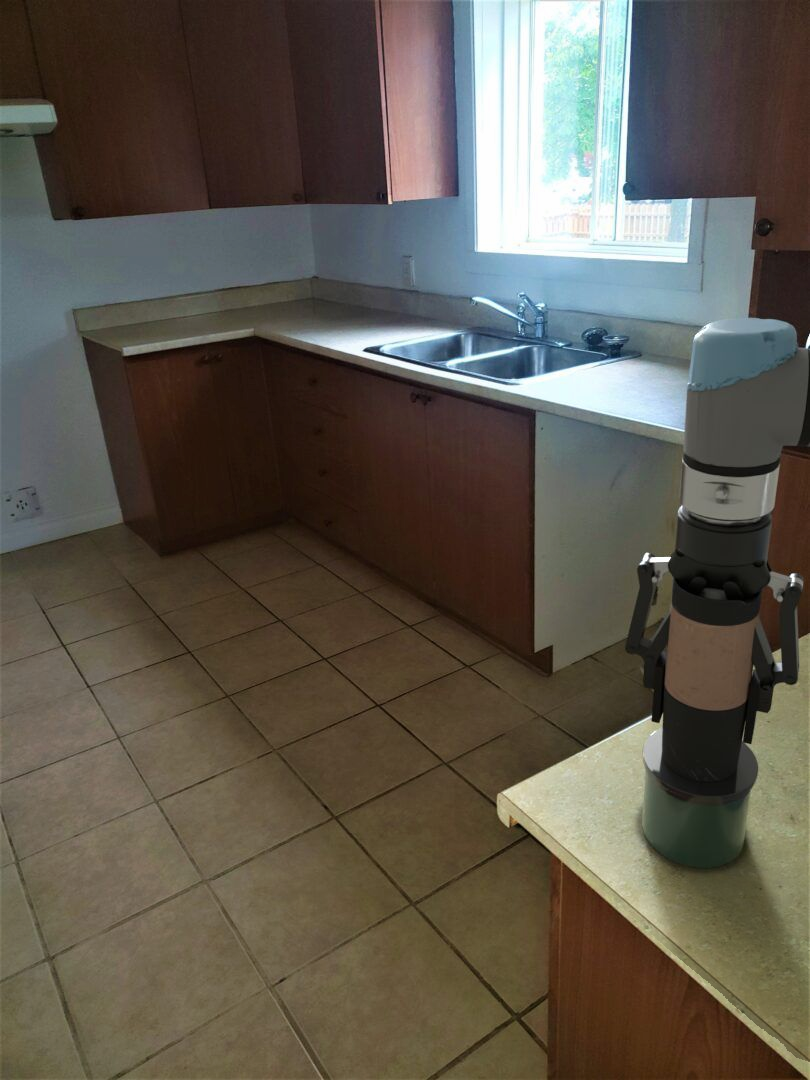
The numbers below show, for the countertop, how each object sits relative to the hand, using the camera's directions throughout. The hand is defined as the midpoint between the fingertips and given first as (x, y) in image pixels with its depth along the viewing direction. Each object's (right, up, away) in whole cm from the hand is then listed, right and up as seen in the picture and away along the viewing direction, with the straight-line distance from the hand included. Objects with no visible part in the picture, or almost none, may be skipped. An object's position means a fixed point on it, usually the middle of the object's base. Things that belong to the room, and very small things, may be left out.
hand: (702, 724), depth 79 cm
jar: (+1, -12, +6) cm, 14 cm away
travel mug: (0, -4, +2) cm, 4 cm away
